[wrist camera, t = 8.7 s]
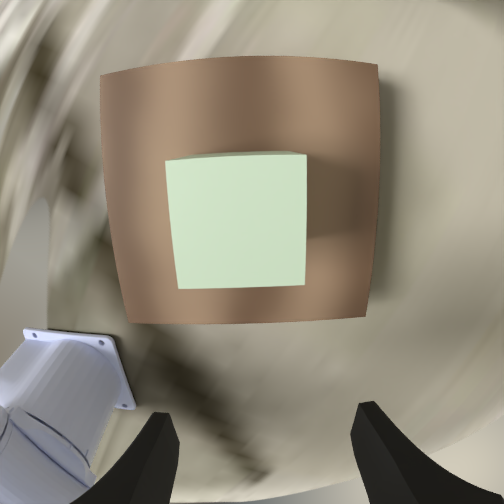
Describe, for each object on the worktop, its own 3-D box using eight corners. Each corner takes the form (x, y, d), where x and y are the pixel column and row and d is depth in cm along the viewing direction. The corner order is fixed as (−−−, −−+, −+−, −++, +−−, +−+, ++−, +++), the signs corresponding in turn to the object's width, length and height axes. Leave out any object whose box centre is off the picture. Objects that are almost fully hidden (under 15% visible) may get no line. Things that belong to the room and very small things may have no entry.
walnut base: (142, 299, 20) (128, 322, 17) (121, 84, 15) (100, 75, 13) (351, 293, 20) (365, 316, 17) (358, 75, 15) (377, 64, 13)
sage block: (198, 244, 16) (178, 288, 11) (192, 154, 14) (165, 161, 9) (288, 241, 16) (304, 285, 11) (287, 150, 14) (306, 154, 9)
